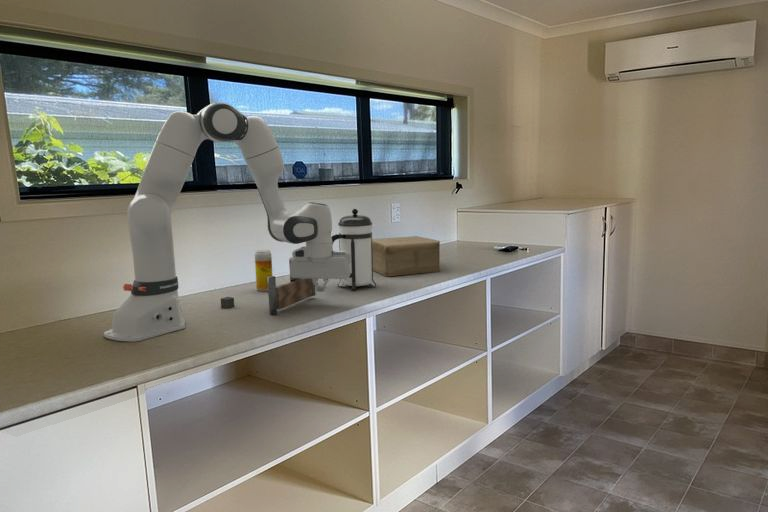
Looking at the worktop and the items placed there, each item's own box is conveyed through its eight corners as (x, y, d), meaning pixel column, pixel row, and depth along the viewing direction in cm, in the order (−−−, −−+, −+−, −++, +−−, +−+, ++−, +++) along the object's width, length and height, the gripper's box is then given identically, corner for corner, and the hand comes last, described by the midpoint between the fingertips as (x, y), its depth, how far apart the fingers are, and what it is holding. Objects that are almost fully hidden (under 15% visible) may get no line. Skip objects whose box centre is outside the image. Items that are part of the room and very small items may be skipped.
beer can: (269, 292, 201) (267, 252, 198) (254, 291, 202) (251, 252, 200) (275, 288, 207) (273, 249, 204) (260, 288, 208) (258, 249, 205)
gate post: (274, 315, 168) (272, 277, 167) (267, 314, 170) (265, 277, 168) (278, 313, 171) (276, 276, 169) (272, 312, 172) (270, 275, 170)
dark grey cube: (234, 306, 181) (233, 297, 180) (227, 308, 178) (227, 299, 177) (227, 305, 182) (227, 296, 182) (221, 307, 179) (220, 298, 179)
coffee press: (340, 282, 216) (338, 207, 211) (379, 283, 213) (378, 207, 208) (327, 292, 199) (324, 210, 194) (369, 293, 196) (368, 210, 191)
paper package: (416, 263, 257) (415, 234, 255) (442, 272, 234) (442, 240, 231) (363, 268, 246) (362, 237, 244) (385, 278, 223) (385, 245, 221)
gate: (280, 309, 171) (278, 286, 170) (274, 309, 172) (273, 285, 171) (315, 295, 190) (314, 274, 189) (310, 294, 191) (309, 273, 190)
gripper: (351, 249, 181) (353, 289, 184) (293, 249, 184) (294, 288, 187) (348, 252, 175) (349, 294, 178) (287, 252, 178) (289, 293, 180)
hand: (321, 291), depth 182 cm, fingers closed
